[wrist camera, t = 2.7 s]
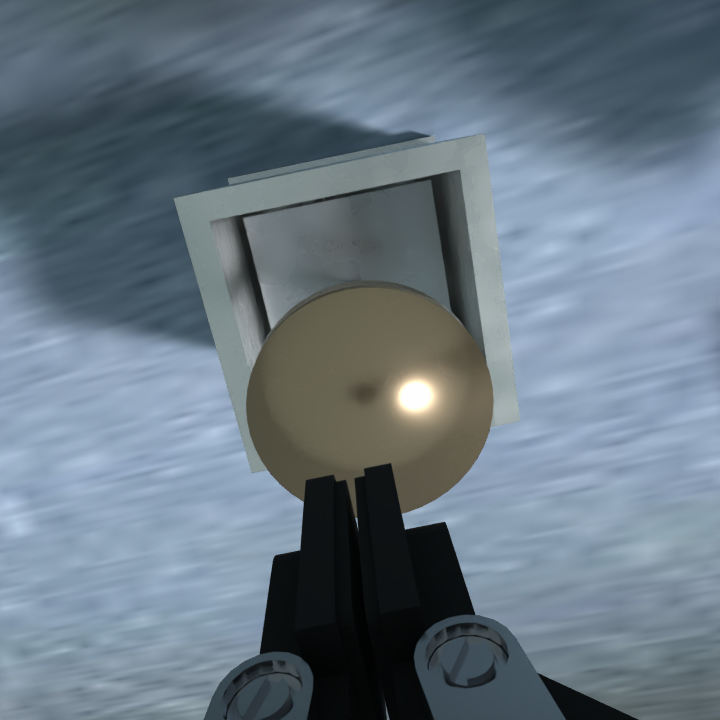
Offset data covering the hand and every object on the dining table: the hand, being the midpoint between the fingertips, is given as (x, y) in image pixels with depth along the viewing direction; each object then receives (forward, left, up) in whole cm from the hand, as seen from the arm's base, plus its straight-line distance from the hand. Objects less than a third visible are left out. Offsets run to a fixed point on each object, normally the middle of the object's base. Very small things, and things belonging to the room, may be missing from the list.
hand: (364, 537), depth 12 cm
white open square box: (0, 0, -34) cm, 34 cm away
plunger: (0, 0, -23) cm, 23 cm away
